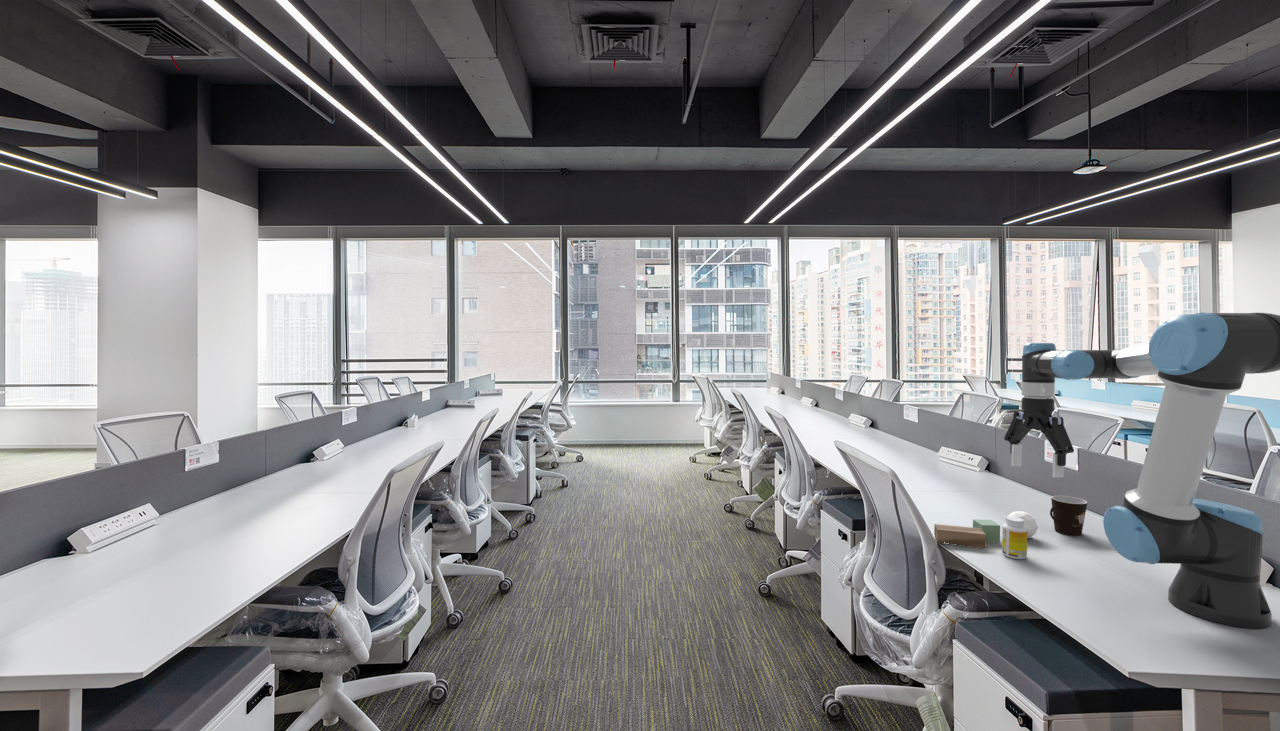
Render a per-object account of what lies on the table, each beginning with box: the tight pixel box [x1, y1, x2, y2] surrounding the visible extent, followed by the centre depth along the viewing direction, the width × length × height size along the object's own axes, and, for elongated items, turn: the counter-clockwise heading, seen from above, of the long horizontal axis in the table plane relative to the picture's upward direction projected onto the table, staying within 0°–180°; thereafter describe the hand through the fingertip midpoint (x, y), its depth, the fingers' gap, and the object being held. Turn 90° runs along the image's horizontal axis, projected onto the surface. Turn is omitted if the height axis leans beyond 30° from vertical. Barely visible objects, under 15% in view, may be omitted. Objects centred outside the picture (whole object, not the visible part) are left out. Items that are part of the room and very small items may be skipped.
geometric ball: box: [1004, 510, 1039, 539], centre depth 160 cm, size 8×8×8 cm
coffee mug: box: [1049, 495, 1088, 537], centre depth 163 cm, size 12×9×10 cm
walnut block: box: [933, 523, 986, 549], centre depth 156 cm, size 5×12×4 cm, turn 69°
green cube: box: [972, 519, 1001, 543], centre depth 159 cm, size 5×5×5 cm
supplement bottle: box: [1001, 516, 1028, 560], centre depth 146 cm, size 6×6×10 cm
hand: (1036, 471), depth 154 cm, fingers open, 13 cm apart
